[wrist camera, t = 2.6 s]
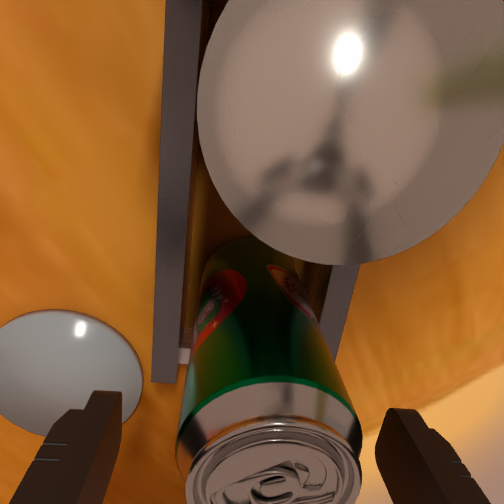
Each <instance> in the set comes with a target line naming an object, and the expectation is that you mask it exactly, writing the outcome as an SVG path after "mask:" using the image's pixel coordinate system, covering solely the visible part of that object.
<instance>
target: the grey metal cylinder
mask: <svg viewBox="0 0 504 504" xmlns="http://www.w3.org/2000/svg"><path fill="white" fill-rule="evenodd" d="M197 122H198V131H199V140H200V144H201V149H202V153H203V157H204V161H205V164H206V166H207V169H208V172H209V174H210V177H211V180H212V182H213V184H214V186H215V188H216V189H217V191H218V193H219V195H220V197H221V199H222V200H223V202H224V203H225V204H226V206H227V207H228V208H229V210H230V211H231V213H232V214H233V215H234V216H235V217H236V218H237V220H238V221H239V222H240V223H241V224H242V225H243V226H244V227H245V228H246V229H247V230H248V231H250V232H251V233H252V234H253V235H255V236H256V237H257V238H258V239H260V240H261V241H263V242H264V243H266V244H267V245H269V246H271V247H272V248H274V249H276V250H278V251H280V252H282V253H285V254H287V255H289V256H291V257H295V258H298V259H301V260H305V261H308V262H314V263H320V264H328V265H350V264H361V263H366V262H371V261H376V260H380V259H383V258H386V257H389V256H392V255H395V254H398V253H400V252H402V251H404V250H406V249H409V248H411V247H413V246H415V245H416V244H418V243H420V242H421V241H423V240H425V239H426V238H428V237H430V236H431V235H432V234H434V233H435V232H436V231H438V230H439V229H440V228H442V227H443V226H444V225H446V224H447V223H448V222H449V221H450V220H451V219H452V218H453V217H454V216H455V215H456V214H458V213H459V212H460V211H461V210H462V208H463V207H464V206H465V205H466V204H467V203H468V202H469V200H470V199H471V198H472V197H473V196H474V194H475V193H476V192H477V190H478V189H479V187H480V186H481V185H482V183H483V182H484V180H485V179H486V177H487V175H488V174H489V172H490V170H491V168H492V166H493V165H494V163H495V161H496V159H497V157H498V155H499V152H500V150H501V148H502V145H503V143H504V2H503V0H229V1H228V3H227V4H226V6H225V8H224V10H223V12H222V14H221V15H220V17H219V19H218V21H217V23H216V25H215V27H214V30H213V32H212V35H211V38H210V40H209V43H208V45H207V48H206V52H205V56H204V59H203V63H202V67H201V71H200V78H199V86H198V93H197Z"/></svg>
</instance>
